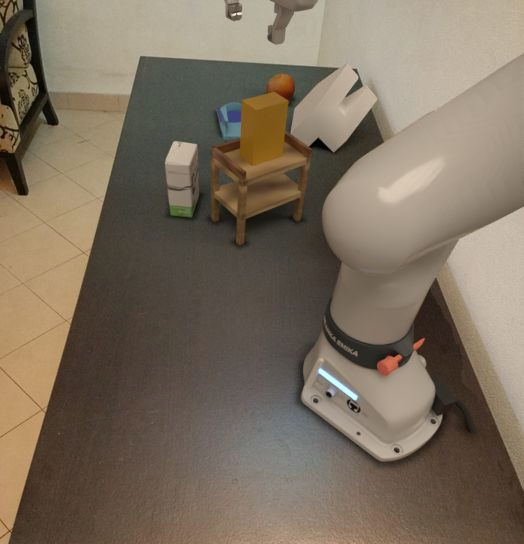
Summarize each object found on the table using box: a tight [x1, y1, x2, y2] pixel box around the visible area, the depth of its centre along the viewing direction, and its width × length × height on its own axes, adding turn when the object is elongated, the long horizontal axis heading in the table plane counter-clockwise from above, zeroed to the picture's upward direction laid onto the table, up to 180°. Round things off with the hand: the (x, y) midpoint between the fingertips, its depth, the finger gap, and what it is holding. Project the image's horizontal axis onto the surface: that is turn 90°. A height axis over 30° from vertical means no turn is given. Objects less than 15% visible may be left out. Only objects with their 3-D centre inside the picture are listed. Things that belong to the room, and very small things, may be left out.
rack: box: [209, 130, 313, 246], centre depth 92 cm, size 10×16×16 cm, turn 127°
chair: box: [219, 101, 242, 143], centre depth 107 cm, size 8×8×12 cm
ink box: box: [164, 140, 200, 218], centre depth 94 cm, size 9×5×12 cm, turn 175°
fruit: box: [265, 73, 296, 105], centre depth 131 cm, size 8×8×8 cm
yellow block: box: [240, 92, 289, 166], centre depth 83 cm, size 4×7×10 cm, turn 127°
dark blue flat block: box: [216, 106, 241, 124], centre depth 122 cm, size 2×8×12 cm
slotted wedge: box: [289, 62, 378, 153], centre depth 116 cm, size 14×11×18 cm
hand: (253, 30), depth 63 cm, fingers open, 8 cm apart
